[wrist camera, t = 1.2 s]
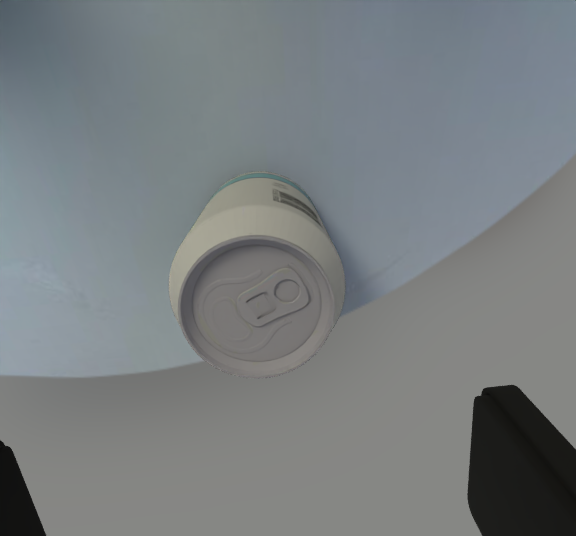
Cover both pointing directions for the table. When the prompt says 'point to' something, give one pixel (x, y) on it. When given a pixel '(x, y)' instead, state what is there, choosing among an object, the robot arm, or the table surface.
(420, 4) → the table surface
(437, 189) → the table surface
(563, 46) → the table surface
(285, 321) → the beverage can
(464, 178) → the table surface
